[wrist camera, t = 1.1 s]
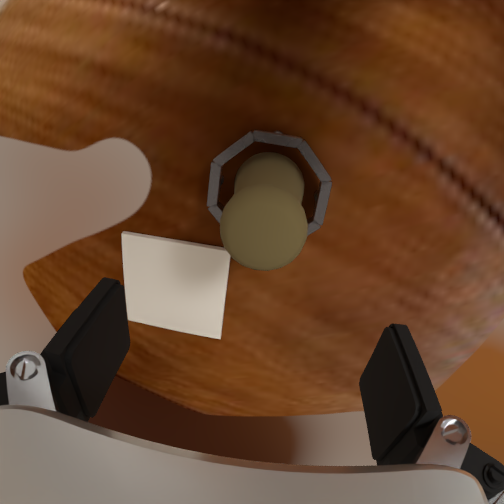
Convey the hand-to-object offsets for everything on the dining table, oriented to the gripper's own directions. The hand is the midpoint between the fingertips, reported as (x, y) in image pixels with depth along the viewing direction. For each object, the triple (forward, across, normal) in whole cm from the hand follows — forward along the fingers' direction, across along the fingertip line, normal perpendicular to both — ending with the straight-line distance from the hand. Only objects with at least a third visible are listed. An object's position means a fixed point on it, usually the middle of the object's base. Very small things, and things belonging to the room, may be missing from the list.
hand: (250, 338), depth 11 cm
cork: (+19, 0, 0) cm, 19 cm away
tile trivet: (+19, +8, +12) cm, 24 cm away
